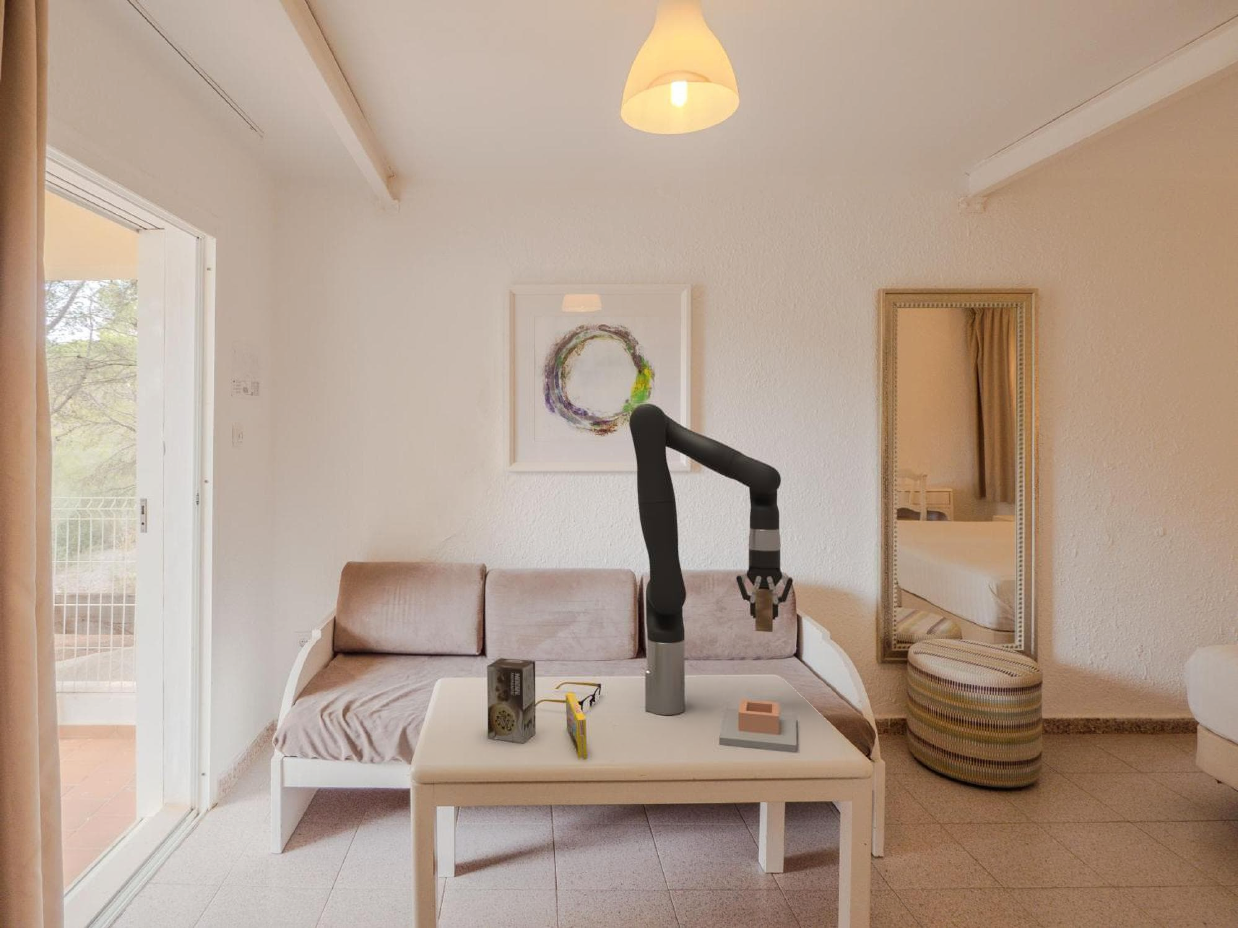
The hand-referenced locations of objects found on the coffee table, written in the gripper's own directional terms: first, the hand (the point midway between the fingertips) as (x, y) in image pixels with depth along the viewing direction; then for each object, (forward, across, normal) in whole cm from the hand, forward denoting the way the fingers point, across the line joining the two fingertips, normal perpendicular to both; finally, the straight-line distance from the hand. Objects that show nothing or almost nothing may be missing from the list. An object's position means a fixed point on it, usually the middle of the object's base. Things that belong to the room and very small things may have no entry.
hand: (764, 617), depth 158 cm
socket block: (+23, -1, -12) cm, 26 cm away
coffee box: (+24, -54, -27) cm, 65 cm away
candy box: (+24, -39, -27) cm, 53 cm away
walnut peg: (+3, 0, 0) cm, 3 cm away
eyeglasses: (+24, -48, -4) cm, 54 cm away
